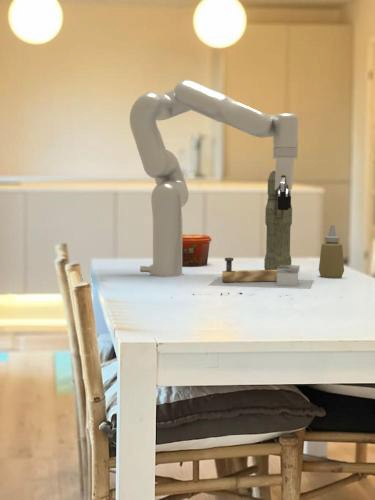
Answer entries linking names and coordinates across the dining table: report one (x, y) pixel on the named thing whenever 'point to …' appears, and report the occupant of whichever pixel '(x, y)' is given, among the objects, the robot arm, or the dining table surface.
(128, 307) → the dining table surface
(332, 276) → the squeeze bottle
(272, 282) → the base plate
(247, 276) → the oak link
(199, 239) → the food container
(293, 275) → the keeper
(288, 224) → the olive green pillar
